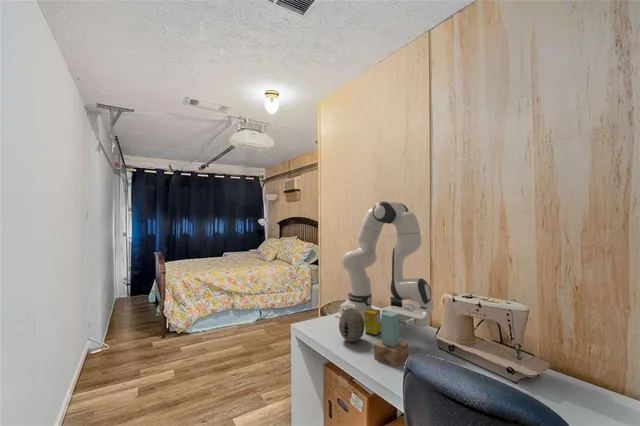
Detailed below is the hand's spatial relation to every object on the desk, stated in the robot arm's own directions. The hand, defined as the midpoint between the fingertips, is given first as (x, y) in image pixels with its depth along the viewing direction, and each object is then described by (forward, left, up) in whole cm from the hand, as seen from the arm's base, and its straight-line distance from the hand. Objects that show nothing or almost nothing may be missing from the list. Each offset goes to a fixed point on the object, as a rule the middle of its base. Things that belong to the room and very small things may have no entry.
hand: (395, 320), depth 121 cm
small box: (-22, +38, -14) cm, 46 cm away
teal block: (0, -4, -8) cm, 9 cm away
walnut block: (0, -4, -14) cm, 15 cm away
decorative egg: (-22, -2, -14) cm, 26 cm away
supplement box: (-20, +12, -14) cm, 27 cm away
